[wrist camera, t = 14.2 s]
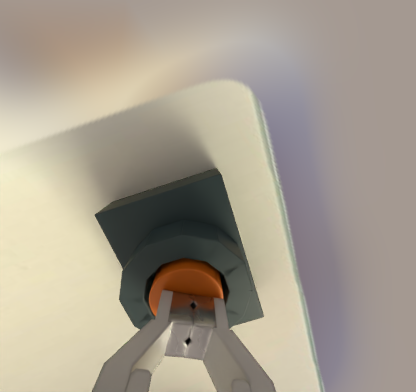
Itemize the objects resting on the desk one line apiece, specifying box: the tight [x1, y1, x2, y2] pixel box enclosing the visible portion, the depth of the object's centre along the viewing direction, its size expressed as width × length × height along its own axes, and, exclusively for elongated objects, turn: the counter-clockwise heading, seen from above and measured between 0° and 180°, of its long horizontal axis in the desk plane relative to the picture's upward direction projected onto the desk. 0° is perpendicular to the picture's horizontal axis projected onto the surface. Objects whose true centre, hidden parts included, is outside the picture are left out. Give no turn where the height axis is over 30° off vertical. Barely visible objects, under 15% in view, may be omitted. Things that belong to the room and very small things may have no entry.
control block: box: [95, 168, 264, 330], centre depth 11 cm, size 10×7×4 cm
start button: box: [149, 258, 223, 316], centre depth 10 cm, size 4×4×2 cm
